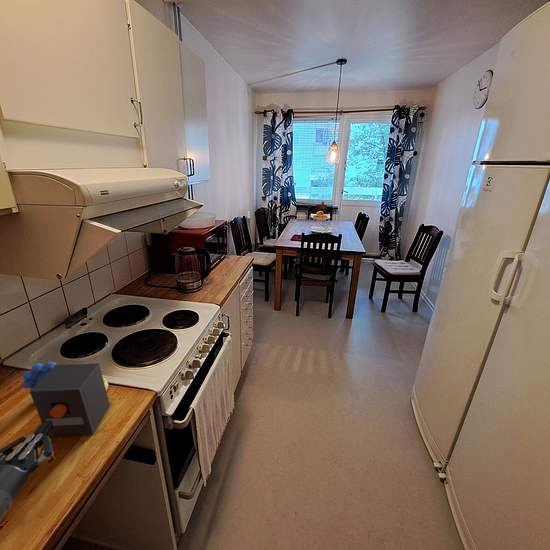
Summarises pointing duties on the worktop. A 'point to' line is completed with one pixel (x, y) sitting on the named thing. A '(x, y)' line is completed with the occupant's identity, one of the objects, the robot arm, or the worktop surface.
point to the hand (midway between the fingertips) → (49, 423)
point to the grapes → (36, 374)
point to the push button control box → (72, 398)
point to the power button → (58, 411)
